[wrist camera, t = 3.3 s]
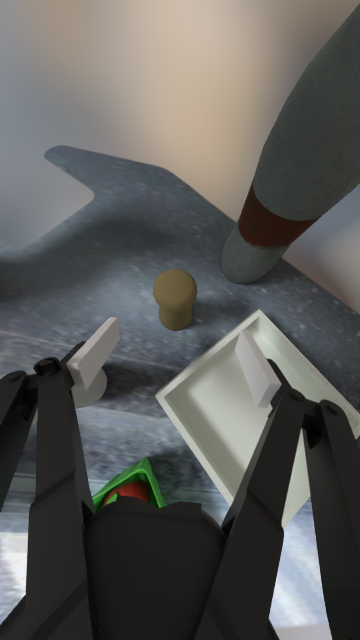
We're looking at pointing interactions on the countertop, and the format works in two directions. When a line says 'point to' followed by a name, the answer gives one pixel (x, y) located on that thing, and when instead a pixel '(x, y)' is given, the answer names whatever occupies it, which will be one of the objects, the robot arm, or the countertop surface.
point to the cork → (175, 298)
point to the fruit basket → (132, 486)
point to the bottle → (302, 159)
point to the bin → (242, 408)
